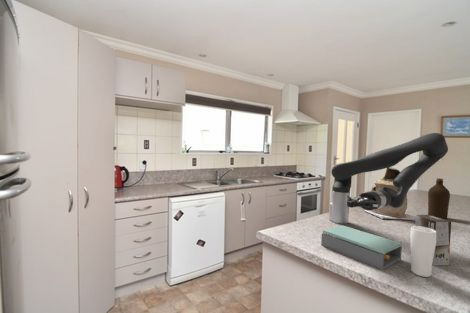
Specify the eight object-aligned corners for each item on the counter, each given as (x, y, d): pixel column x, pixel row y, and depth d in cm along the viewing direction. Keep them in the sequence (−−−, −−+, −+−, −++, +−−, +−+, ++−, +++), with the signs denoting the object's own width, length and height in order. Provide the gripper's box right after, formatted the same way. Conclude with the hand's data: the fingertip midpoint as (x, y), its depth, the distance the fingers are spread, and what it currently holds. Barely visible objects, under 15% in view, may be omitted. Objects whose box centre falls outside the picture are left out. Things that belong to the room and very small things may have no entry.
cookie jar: (421, 221, 142) (425, 168, 141) (380, 219, 143) (383, 166, 142) (394, 210, 167) (397, 165, 166) (359, 209, 167) (361, 164, 166)
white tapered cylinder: (435, 281, 75) (438, 234, 74) (409, 274, 78) (411, 229, 78) (431, 272, 81) (434, 228, 80) (407, 266, 84) (409, 224, 84)
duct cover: (322, 232, 101) (322, 230, 101) (341, 227, 109) (341, 225, 109) (383, 254, 81) (383, 251, 81) (401, 245, 89) (401, 243, 89)
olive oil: (439, 220, 146) (442, 179, 145) (422, 215, 156) (424, 177, 156) (453, 219, 148) (455, 179, 148) (435, 214, 159) (437, 177, 158)
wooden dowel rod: (334, 241, 103) (334, 236, 103) (337, 240, 104) (337, 235, 104) (387, 261, 85) (388, 255, 85) (390, 259, 87) (390, 254, 87)
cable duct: (321, 244, 101) (321, 233, 101) (341, 238, 109) (342, 227, 109) (382, 269, 81) (382, 255, 81) (401, 259, 89) (401, 246, 89)
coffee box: (450, 265, 86) (453, 221, 85) (433, 265, 85) (436, 221, 85) (427, 254, 95) (430, 214, 94) (412, 254, 94) (415, 214, 94)
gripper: (357, 188, 105) (333, 191, 95) (390, 194, 94) (367, 198, 84) (356, 205, 105) (332, 210, 95) (389, 213, 94) (366, 219, 84)
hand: (349, 204), depth 90 cm, fingers closed
